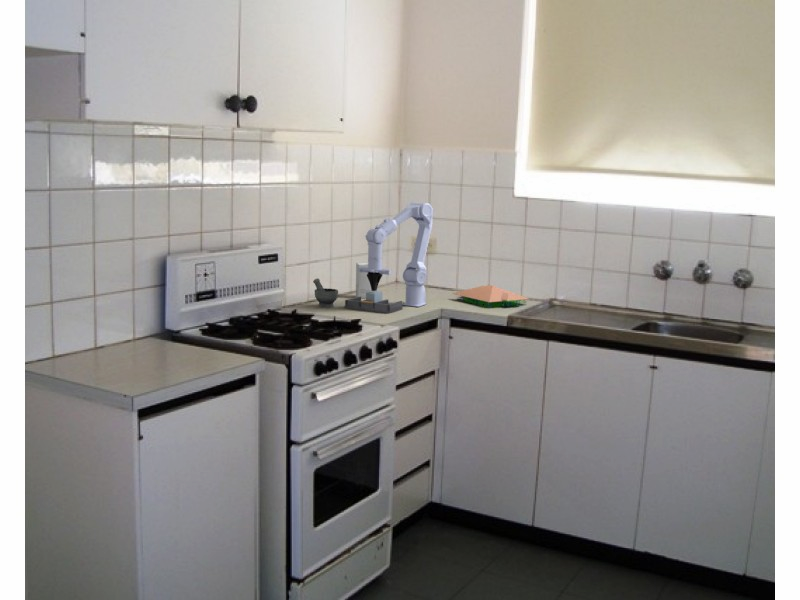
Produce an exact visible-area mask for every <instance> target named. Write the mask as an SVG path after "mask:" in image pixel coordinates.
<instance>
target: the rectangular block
mask: <svg viewBox="0 0 800 600" xmlns="http://www.w3.org/2000/svg"><path fill="white" fill-rule="evenodd" d="M365 300H366V301H372V302H374V303H375V302H379V301H382V300H383V291H381V290H377V291H371V292H367V293H366V298H365Z"/></svg>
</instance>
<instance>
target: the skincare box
mask: <svg viewBox="0 0 800 600" xmlns="http://www.w3.org/2000/svg"><path fill="white" fill-rule="evenodd" d="M359 267H367V268H368V262H355V297H359V296H360V297H361V299H366V293H367V292H371V291H372V290H371V285H370V282H369V279H368V277H367V274H368V273H366V272H358V268H359ZM370 272H374V271H370Z"/></svg>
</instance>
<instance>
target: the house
mask: <svg viewBox="0 0 800 600" xmlns="http://www.w3.org/2000/svg"><path fill="white" fill-rule="evenodd" d="M452 295H456V296H460V297H461V300H462V301H463V302H464V301H465V302H468V303H469V304H470V303H472V304H473V303H475V305H476V306H478V304H479V303H480V307H484V305H485V303H486V308H488V309H491V306H494V303H495V308H496V307H497V308H500V307H501V304H502V303H503V304H502V307H505V304H506V306H507V307H508V308H510V307H513V306H514V307H518V305H519V306H522V305H523V306H524V305H526V300H529V298H528V297H525V296H522V295H519V294H517V293H513V292H511V291H508V290H505V289H503V288H500V287H497V286H495V285H491V284H487V285H481V286H476V287H472V288H469V289H464V290H460V291H458V292H453V293H452ZM473 300H474V301H473ZM519 303H520V304H519ZM483 304H484V305H483Z"/></svg>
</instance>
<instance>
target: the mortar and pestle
mask: <svg viewBox="0 0 800 600" xmlns="http://www.w3.org/2000/svg"><path fill="white" fill-rule="evenodd" d="M313 284H314V285H315V287H316V289H314V298H315V299H316V301H317V302H318V307H320V308H333V307H334V306H335V305H334V303H335V302H336V300H338V298H339V297H338V295H339V289H335V288H325V287H324V286H323V285H322V283H321V280H320V278H314V280H313Z"/></svg>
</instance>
